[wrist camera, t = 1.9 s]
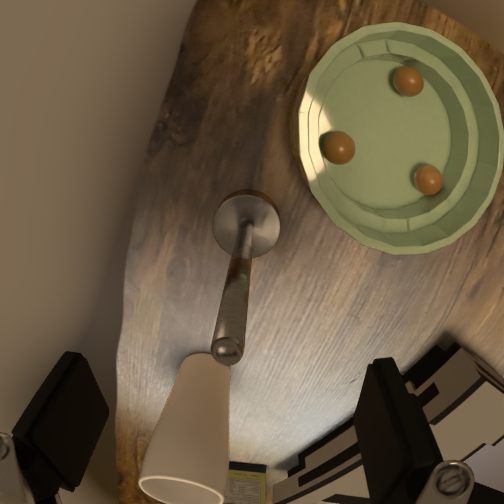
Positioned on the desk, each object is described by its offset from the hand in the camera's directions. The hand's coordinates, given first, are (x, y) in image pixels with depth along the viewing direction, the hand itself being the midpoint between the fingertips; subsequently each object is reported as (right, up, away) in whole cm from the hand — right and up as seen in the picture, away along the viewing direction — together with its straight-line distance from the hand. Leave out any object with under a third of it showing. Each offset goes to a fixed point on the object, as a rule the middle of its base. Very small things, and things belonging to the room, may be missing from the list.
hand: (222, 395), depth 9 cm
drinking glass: (-4, -8, +23) cm, 24 cm away
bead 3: (+15, +10, +12) cm, 22 cm away
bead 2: (+12, +17, +9) cm, 23 cm away
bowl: (+11, +14, +13) cm, 22 cm away
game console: (+22, -21, +27) cm, 41 cm away
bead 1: (+7, +12, +12) cm, 18 cm away
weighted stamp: (+1, +7, +16) cm, 17 cm away
